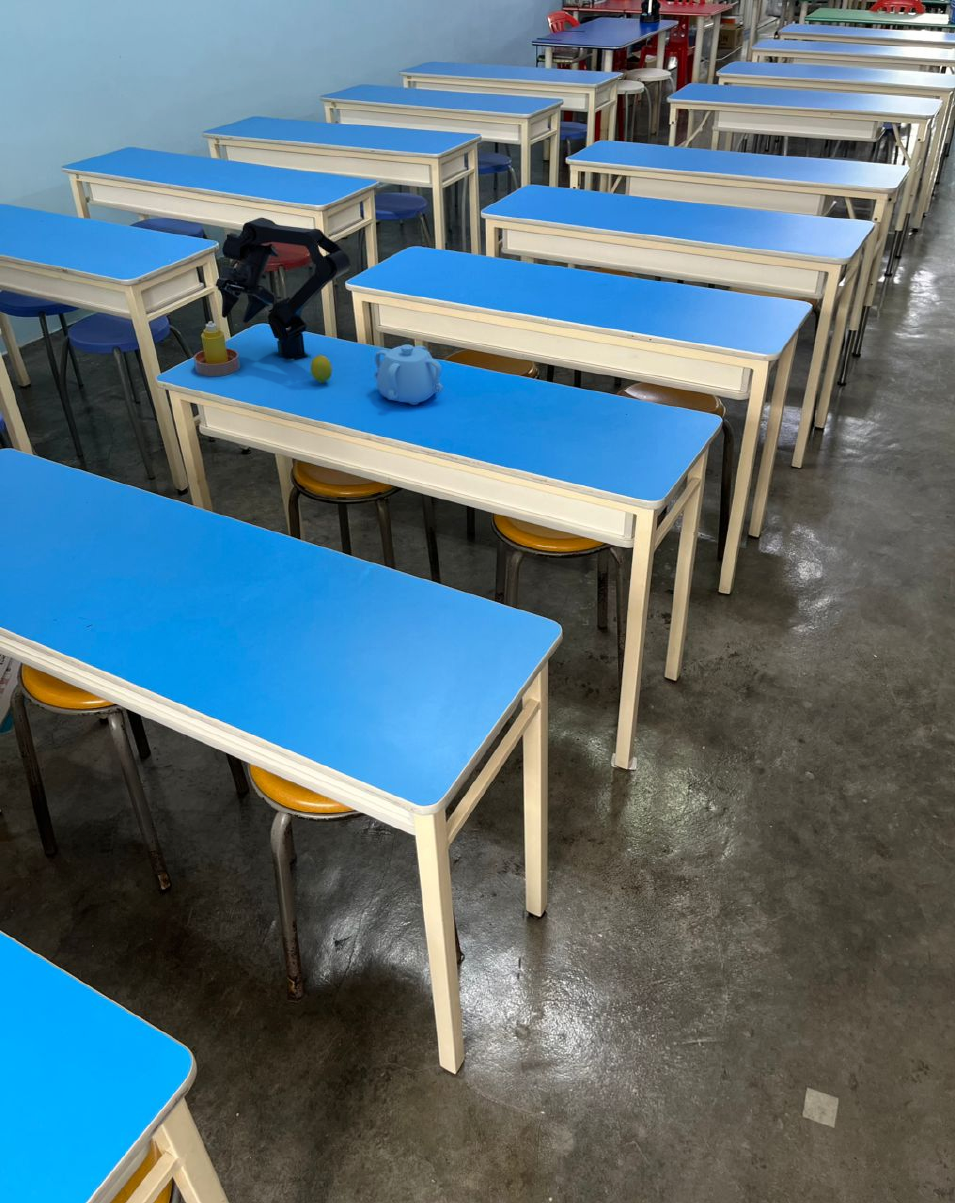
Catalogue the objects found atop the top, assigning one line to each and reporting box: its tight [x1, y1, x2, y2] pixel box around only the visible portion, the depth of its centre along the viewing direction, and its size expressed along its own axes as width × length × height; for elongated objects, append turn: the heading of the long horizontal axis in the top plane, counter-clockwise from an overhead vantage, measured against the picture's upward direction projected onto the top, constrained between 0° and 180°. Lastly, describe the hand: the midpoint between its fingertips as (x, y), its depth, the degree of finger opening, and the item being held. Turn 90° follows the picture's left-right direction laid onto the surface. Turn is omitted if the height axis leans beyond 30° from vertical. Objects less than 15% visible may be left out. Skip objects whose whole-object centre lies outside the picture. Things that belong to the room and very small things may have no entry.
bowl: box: [193, 347, 241, 377], centre depth 260 cm, size 12×12×4 cm
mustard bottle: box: [200, 320, 228, 364], centre depth 257 cm, size 6×6×13 cm
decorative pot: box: [374, 344, 444, 406], centre depth 244 cm, size 16×16×14 cm
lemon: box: [310, 354, 333, 384], centre depth 252 cm, size 6×6×8 cm
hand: (233, 319), depth 257 cm, fingers open, 9 cm apart
